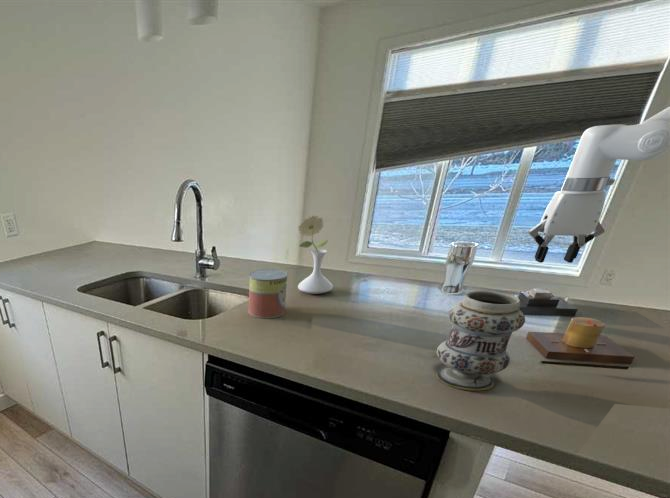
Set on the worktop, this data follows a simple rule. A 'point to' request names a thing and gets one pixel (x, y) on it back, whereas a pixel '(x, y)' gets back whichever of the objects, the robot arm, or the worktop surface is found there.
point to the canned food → (267, 293)
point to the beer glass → (458, 266)
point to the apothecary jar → (479, 339)
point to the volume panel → (579, 351)
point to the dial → (583, 332)
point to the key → (540, 293)
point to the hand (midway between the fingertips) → (553, 260)
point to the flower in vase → (316, 280)
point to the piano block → (545, 306)
